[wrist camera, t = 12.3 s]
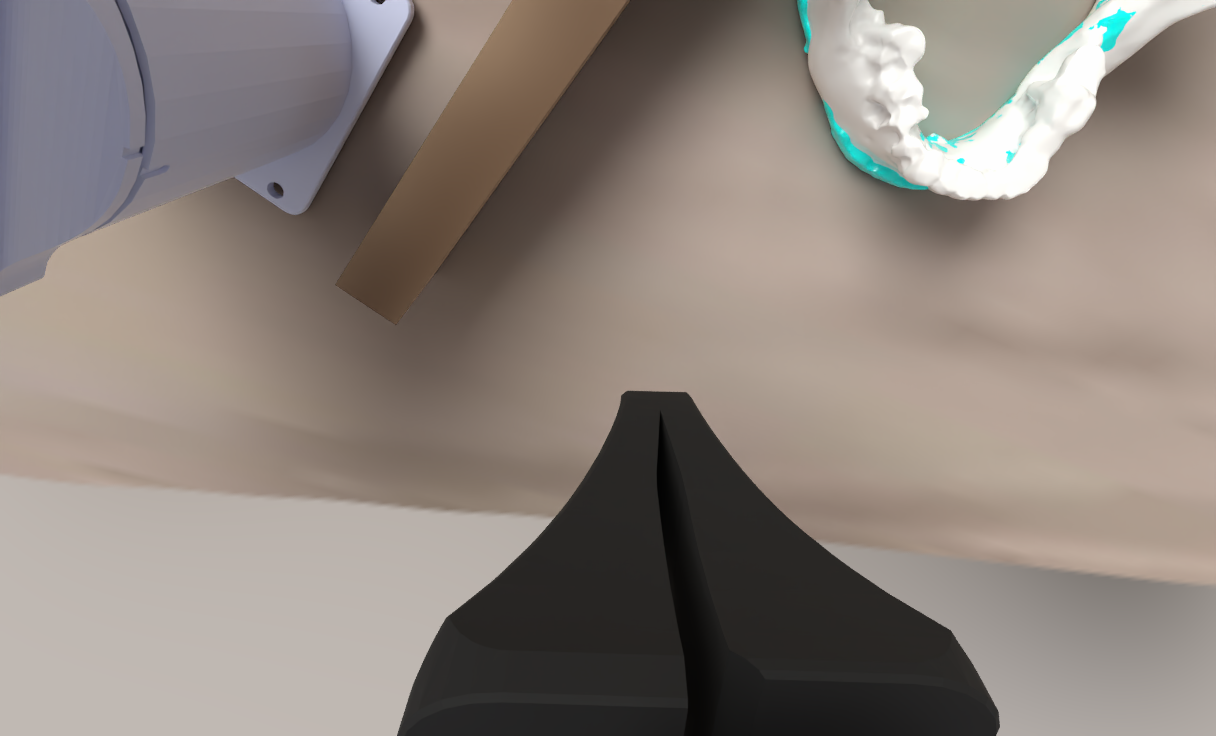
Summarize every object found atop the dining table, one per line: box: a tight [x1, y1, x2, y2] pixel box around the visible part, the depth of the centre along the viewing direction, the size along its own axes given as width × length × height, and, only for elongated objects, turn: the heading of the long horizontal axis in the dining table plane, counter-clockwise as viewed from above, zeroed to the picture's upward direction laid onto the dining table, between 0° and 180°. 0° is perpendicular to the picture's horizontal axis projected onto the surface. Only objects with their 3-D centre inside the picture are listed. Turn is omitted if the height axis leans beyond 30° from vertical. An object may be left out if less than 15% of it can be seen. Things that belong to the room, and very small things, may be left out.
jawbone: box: [797, 0, 1216, 201], centre depth 13 cm, size 12×8×9 cm, turn 89°
